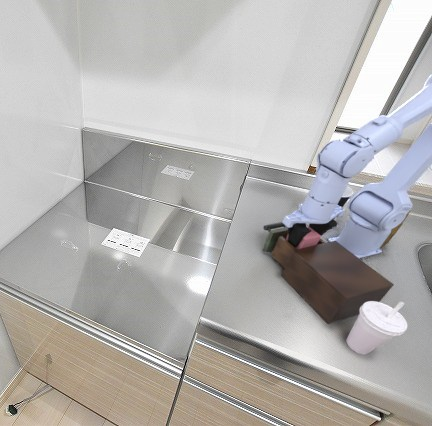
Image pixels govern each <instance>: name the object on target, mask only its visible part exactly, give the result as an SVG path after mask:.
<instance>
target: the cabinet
mask: <svg viewBox="0 0 432 426" xmlns="http://www.w3.org/2000/svg"><path fill="white" fill-rule="evenodd" d="M281 277H282V278H283V279H284V280H285V281H286V283H288V285H290V287H292V289H293V290H295V292H296V293H297V294H298V295H299V296H300V297H301V298H302V299H303V300H304V301H305V303H307V304H308V305H309V306H310V308H312V309H313V311H314V312H316V313H317V315H318V316H319V317H320V318H321V319H322V320H323V321H324V322H325V323H326V324H327V325H330V324H333V323H335V322H340V321H343V320H346V319H349V318H354V317H356V316H359V314H360V307H361V306H362V305H363V304H364V303H365V302H368V301H376V302H380V303H381V301H382V300H383V299H384V298H385V296H386V295H387V294H388V293H389V292H390V290H392V288H393V287H394V285H395V284H394V283H393V282H391V281H390V280H388V279H387V278H386V277H385V276H384V275H382V274H381V273H379V272H378V271H377V270H375V269H374V268H372V267H371V265H369V264H367V263H366V262H365V261H363V260H362V258H358V257H357V256H355V255H354V254H353V253H351V252H350V251H349V250H347V249H346V248H345V247H343V246H342V245H341V244H339V243H338V242H337V241H331V242H329V241H326V243H322V244H318V245H314V246H310V247H305V248H301V249H297V250H293V252H292V255H291V257H290V259H289V261H288V263H287V265H286V267H285V268H284V269H283V271H282V273H281Z"/></svg>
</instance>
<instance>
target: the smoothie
mask: <svg viewBox="0 0 432 426" xmlns="http://www.w3.org/2000/svg"><path fill="white" fill-rule="evenodd" d="M404 305H405V302H403V301H399V302H398V303H397V305H395V307H394V308H393V307H391V305H388V304H386V303H383V302H381V301H380V302H376V301H368V302H365V303H364V304H363V305H362V306H361V307H360V314H359V315H357V318H356V319H355V322H354V323H353V326H352V328H351V329H350V332H349V334H348V335H347V338H346V339H345V341H346V344H347V346H348V347H349V348H350V349H351V350H352V351H353V352H355V353H356V354H360V355H363V356H364V355H368V354H369V353H371V352H373V351H374V350H376V349H377V348H379V347H381V346H382V345H384V344H385V343H387V342H388V341H390V340H391V339H393V338H394V337H396V336H397V337H398V336H401V335H404V333H405V332H406V330H407V329H408V322H407V320H406V319H405V317H404V316H403V315H402V314H401V313H400V312H399V311H400V310H401V308H402V307H403V306H404Z"/></svg>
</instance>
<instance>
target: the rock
mask: <svg viewBox="0 0 432 426" xmlns="http://www.w3.org/2000/svg"><path fill="white" fill-rule="evenodd" d="M410 213H411V210H410V211H409V212H408V213H407V215H406V217H405V219H404V220H403V221H402V222H401V223H400V224H399V225H398V226H396V227H395V228H393V229H391V233H390V234H389V236H388V237H387V238H386V240H385V241H384V243H383V244H382V245H381V247H380V249H382V248H383V247H385V246H386V245H387V244H388V243H390V241H391V240H392V238H393V237H394V236H395V235H396V234H397V232H398V231H399V230H400V228H401V227H402V226H403V224H404V222H405V220H406V219H407V217H408V216H409V214H410Z"/></svg>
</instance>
